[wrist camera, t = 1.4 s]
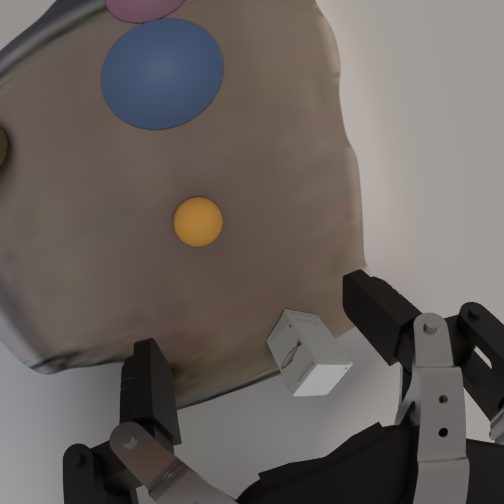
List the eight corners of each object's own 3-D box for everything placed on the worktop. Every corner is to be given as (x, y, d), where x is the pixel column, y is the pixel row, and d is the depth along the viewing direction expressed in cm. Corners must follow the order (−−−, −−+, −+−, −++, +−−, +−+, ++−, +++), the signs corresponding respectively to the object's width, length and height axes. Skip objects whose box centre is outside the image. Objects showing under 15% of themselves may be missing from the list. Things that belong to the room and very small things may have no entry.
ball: (167, 199, 32) (167, 214, 27) (212, 186, 33) (220, 198, 28) (180, 240, 35) (182, 261, 30) (222, 228, 36) (232, 246, 31)
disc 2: (93, 39, 20) (93, 39, 20) (211, 9, 23) (212, 9, 23) (115, 145, 27) (115, 145, 27) (233, 112, 30) (233, 112, 29)
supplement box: (284, 307, 44) (318, 362, 34) (318, 314, 48) (355, 364, 37) (264, 340, 47) (291, 397, 36) (298, 344, 50) (328, 396, 39)
